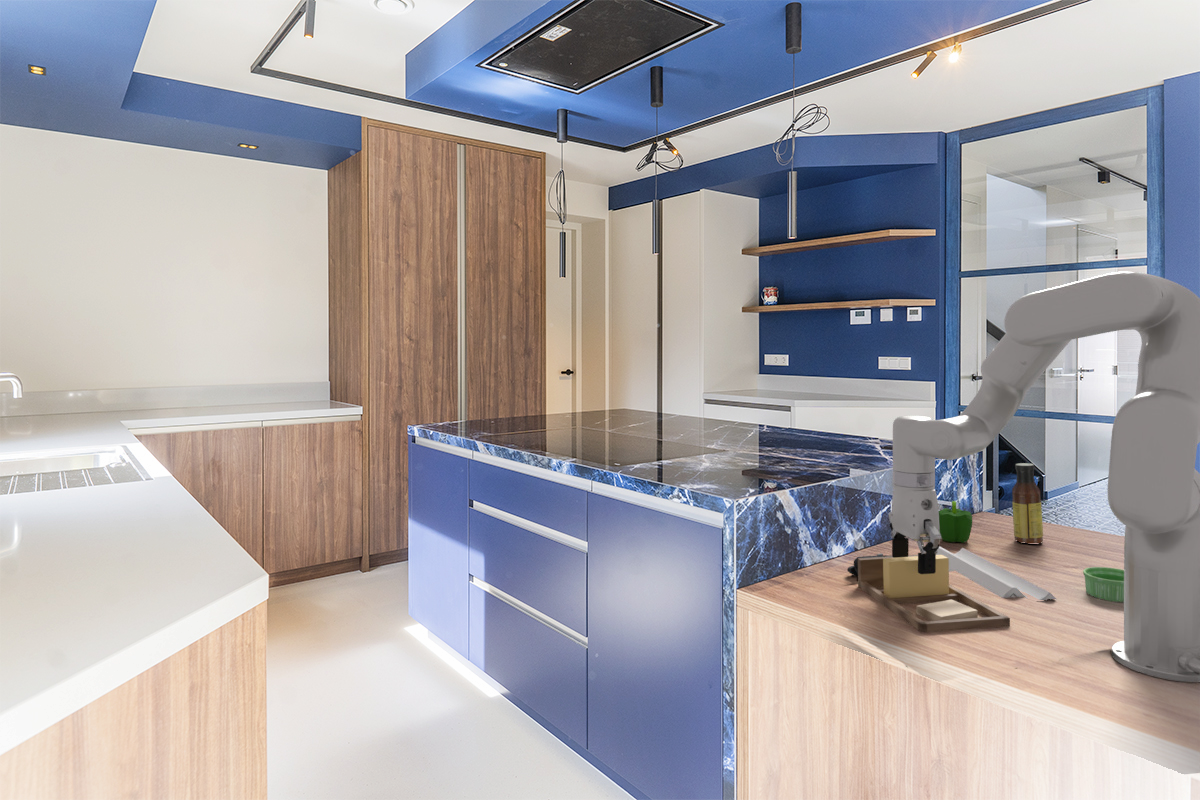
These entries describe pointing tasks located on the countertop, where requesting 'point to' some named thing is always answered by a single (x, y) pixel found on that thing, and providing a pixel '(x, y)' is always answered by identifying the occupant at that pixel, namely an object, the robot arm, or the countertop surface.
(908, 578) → the panel
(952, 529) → the bell pepper
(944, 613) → the offcut upper
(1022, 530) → the sauce bottle
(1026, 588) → the crown molding
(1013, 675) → the countertop surface
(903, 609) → the rack
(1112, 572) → the ramekin
